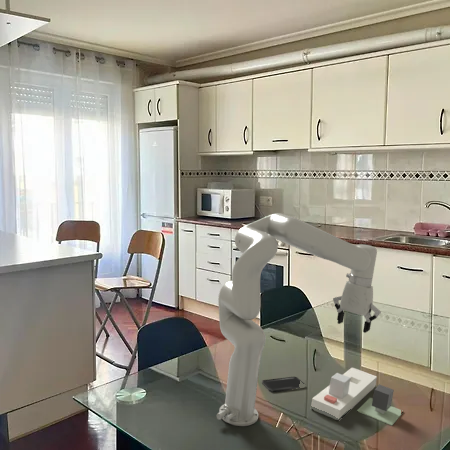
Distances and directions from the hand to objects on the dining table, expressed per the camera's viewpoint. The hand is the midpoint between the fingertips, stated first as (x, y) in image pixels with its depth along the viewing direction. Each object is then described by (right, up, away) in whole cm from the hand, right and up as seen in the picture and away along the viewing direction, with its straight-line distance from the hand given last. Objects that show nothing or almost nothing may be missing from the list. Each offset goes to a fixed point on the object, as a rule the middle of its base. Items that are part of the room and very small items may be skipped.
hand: (352, 327), depth 176 cm
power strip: (-2, -26, +3) cm, 26 cm away
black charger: (+9, -28, -4) cm, 29 cm away
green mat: (+8, -28, -4) cm, 30 cm away
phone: (-23, -23, +8) cm, 34 cm away
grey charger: (-6, -24, -3) cm, 25 cm away
